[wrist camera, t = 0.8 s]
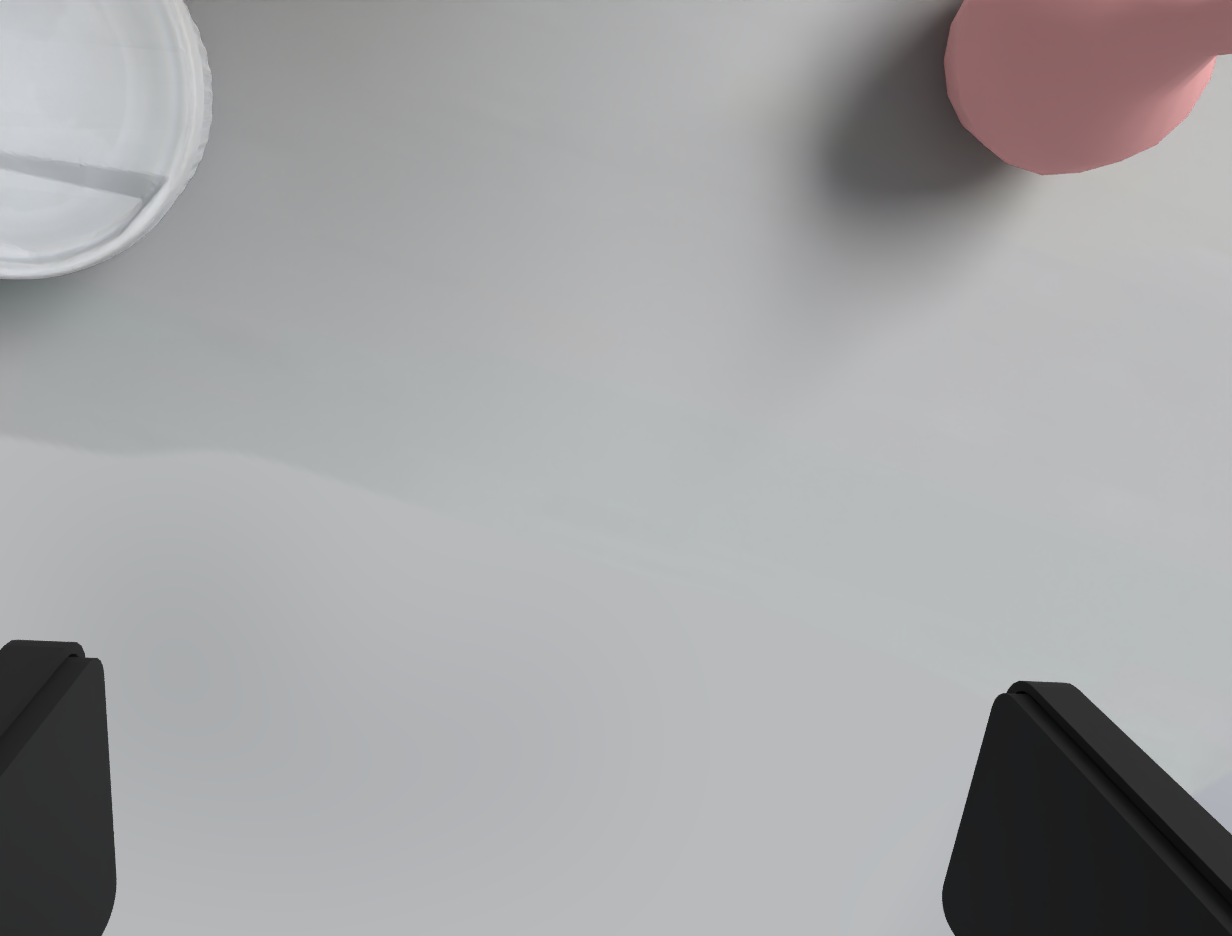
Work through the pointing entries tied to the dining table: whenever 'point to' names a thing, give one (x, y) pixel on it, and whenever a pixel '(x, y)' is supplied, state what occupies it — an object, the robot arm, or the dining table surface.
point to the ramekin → (94, 127)
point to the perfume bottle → (1080, 75)
